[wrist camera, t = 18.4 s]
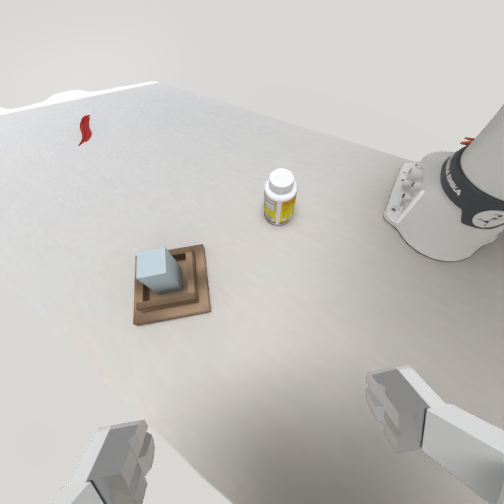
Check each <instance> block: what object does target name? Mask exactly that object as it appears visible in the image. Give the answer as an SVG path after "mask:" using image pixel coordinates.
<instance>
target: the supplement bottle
mask: <svg viewBox="0 0 504 504" xmlns="http://www.w3.org/2000/svg"><path fill="white" fill-rule="evenodd" d="M296 194H297V184H296V182H295V181H294V175H293V173H292V172H291V171H289V170H287V169H283V168H279V169H276V170H274V171H273V172H272V173H271V174H270V177H269V179H268V180H267V181H266V183H265V186H264V214H265V217H266V219H267V220H268V221H269V222H270V223H272V224H275V225H282V224H285V223H287V222H288V221H289V220H290V219H291V218H292V215H293V210H294V204H295V199H296Z"/></svg>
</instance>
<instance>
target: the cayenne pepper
mask: <svg viewBox="0 0 504 504" xmlns="http://www.w3.org/2000/svg"><path fill="white" fill-rule="evenodd" d="M89 116H90V115H87V116H84V117H83V118H82V119H81V122H80V129H81V132H82V141H81V142H80V144H79V145H81V144H82V143H83V142H87V141H88V140H89V138H90V137H91V131H90V129H89V119H90V117H89ZM79 145H78V146H79Z"/></svg>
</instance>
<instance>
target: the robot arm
mask: <svg viewBox="0 0 504 504" xmlns="http://www.w3.org/2000/svg"><path fill="white" fill-rule="evenodd" d="M465 139H467V140H470V141H467V142H461V143H460V144H463V145H467V146H465V147H463V148H462V149H460V150H459V151H457V152H434V153H430V154H428V155H426V156H425V157H424V158H423V159H422V160H421V161H420V162H410V163H406V164H403V165H402V167H401V168H400V170H399V173H398V176H397V178H396V181H395V184H394V187H393V190H392V192H391V195H390V198H389V201H388V204H387V206H386V209H385V212H384V218H385V219H386V220H387V221H388V222H389V223H390V224H391V225H393V226H394V227H396V229H397V230H398V231H399V232H400V234H401V235H402V237H403V238H404V240H405V241H406V242H407V243H408V244H409V245H410V246H411V247H413V248H414V249H415V250H417V251H418V252H420V253H422V254H424V255H426V256H428V257H430V258H433V259H437V260H441V261H459V260H463V259H466V258H468V257H469V256H471V255H472V254H473V253H474V252H475V251H476V250H477V249H479V248H480V247H481V246H483V245H486V244H489V243H491V242H493V241H494V240H495V239H496V238H497V234H499V233H500V232H501V231H503V230H504V105H503V106H502V107H501V109H500V110H499V111H498V112H497V114H496V115H495V116H494V118H493V119H492V120H491V121H490V122H489V123H488V125H487V126H486V127H485V128H484V129H483V130H482V131H481V133H480V134H479V135H478V136H477V137H476V138H475V139H474V138H467V137H466V138H465ZM471 141H472V142H471ZM392 210H393V211H394V212H393V211H392ZM366 382H367V384H368V385H369V387H368V388H367V389H366V399H367V402H368V406H369V408H370V410H371V412H372V414H373V416H374V417H375V419H376V420H377V421H379V422H380V423H382V424H383V425H384V429H383V432H384V434H385V436H386V437H387V439H388V441H389V442H390V444H391V446H392V447H393V449H394V450H395V452H396V453H400V452H406V451H411V450H416V449H422V451H423V452H425V453H426V454H427V455H428V456H430V457H431V458H432V459H434V460H435V461H436V462H437V463H439V464H440V465H441V466H442V467H444V468H445V469H446V470H448V471H449V472H450V473H451V474H453V475H454V476H455V477H456V478H458V479H459V480H460V481H462V482H463V483H464V484H465V485H467V486H468V487H469V488H470V489H472V490H473V491H474V492H475V493H477V494H478V495H479V496H481V497H482V498H483V499H484V500H486V501H487V502H488V503H489V504H504V430H502V429H500V428H498V427H496V426H494V425H492V424H490V423H488V422H486V421H484V420H482V419H480V418H478V417H476V416H474V415H472V414H470V413H468V412H466V411H464V410H462V409H460V408H458V407H456V406H455V405H453V404H446V403H445V402H444V401H443V400H442V399H441V398H440V397H439V396H438V395H437V394H436V393H435V392H434V391H433V390H432V389H431V388H430V386H429V385H428V384H427V383H426V382H425V381H424V380H423V379H422V378H421V377H420V376H419V375H418V374H417V373H416V372H415V371H414V370H413V369H412V368H411V367H410V366H408V365H404V366H399V367H394V368H388V369H384V370H379V371H375V372H370V373H367V375H366ZM147 428H148V425H147V423H146V421H145V420H140V421H134V422H129V423H123V424H117V425H112V426H107V427H102V428H99V429H98V430H97V431H96V432H95V433H94V435H93V437H92V439H91V441H90V443H89V445H88V447H87V449H86V451H85V453H84V455H83V457H82V459H81V461H80V463H79V464H78V466H77V468H76V471H75V472H74V474H73V476H72V478H71V480H70V482H69V484H68V486H66V487H63V488H61V490H60V491H59V492H58V493H57V494H56V495H55V496H54V497H53V498H52V499H51V500H50V501H49V502H48V503H47V504H142V503H143V499H144V495H145V491H146V487H147V481H146V478H145V476H146V474H147V473H148V471H149V470H150V469H151V467H152V463H153V459H154V449H155V446H154V440H153V437H152V435H151V434H149V433H147V432H146V431H147Z"/></svg>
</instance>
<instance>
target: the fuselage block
mask: <svg viewBox="0 0 504 504" xmlns="http://www.w3.org/2000/svg"><path fill="white" fill-rule="evenodd" d="M136 279H138V280H139V281H140V282H142V283H143V284H145V285H146V286H148V287H149V288H150V289H152V290H153V291H155V292H156V293H157V294H159V295H161V294H166V293H171V292H176V291H181V290H183V278H182V268H181V266H180V265H179V264H178V263H177V261H176V260H175V259H174V258H173V256H172V255H171V254H170V253H169V252H168V250H167V249H166V248H165V247H164V248H158V249H153V250H147V251H142V252H137V273H136Z"/></svg>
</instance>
